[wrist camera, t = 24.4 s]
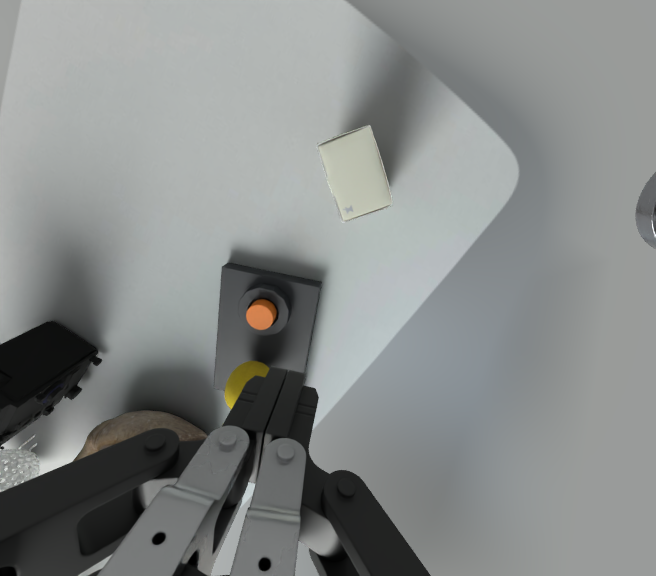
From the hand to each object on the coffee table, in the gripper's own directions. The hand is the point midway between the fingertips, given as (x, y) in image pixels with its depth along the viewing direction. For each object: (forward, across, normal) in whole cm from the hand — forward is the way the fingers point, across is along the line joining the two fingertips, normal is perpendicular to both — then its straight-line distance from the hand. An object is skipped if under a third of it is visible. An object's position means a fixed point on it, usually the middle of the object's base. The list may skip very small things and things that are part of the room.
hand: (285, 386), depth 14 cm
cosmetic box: (+27, -1, -8) cm, 28 cm away
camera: (+27, +37, +26) cm, 53 cm away
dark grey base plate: (+27, +7, +14) cm, 31 cm away
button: (+24, +7, +9) cm, 26 cm away
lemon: (+25, +7, +18) cm, 32 cm away
